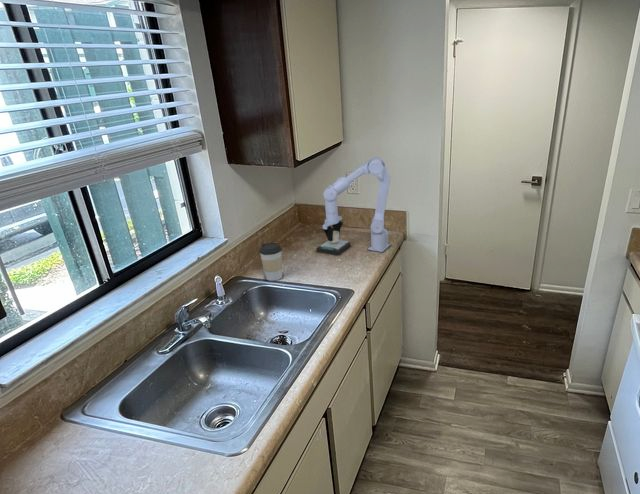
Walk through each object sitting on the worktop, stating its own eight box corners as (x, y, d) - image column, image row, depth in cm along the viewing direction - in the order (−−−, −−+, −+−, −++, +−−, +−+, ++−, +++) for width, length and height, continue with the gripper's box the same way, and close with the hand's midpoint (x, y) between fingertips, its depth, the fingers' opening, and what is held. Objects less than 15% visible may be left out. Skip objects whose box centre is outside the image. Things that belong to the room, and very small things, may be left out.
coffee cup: (288, 272, 190) (284, 241, 184) (280, 282, 182) (276, 249, 176) (268, 271, 191) (263, 240, 185) (259, 281, 183) (254, 248, 177)
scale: (329, 242, 221) (329, 237, 220) (350, 246, 217) (350, 241, 216) (316, 251, 211) (316, 246, 210) (338, 255, 207) (337, 250, 206)
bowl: (331, 238, 216) (331, 230, 215) (341, 239, 214) (341, 231, 213) (325, 242, 212) (325, 233, 210) (335, 243, 210) (335, 235, 208)
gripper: (332, 206, 215) (334, 232, 220) (316, 215, 202) (318, 242, 208) (344, 208, 212) (346, 234, 218) (329, 217, 200) (331, 244, 205)
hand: (333, 238), depth 213 cm, fingers closed on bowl, 5 cm apart
